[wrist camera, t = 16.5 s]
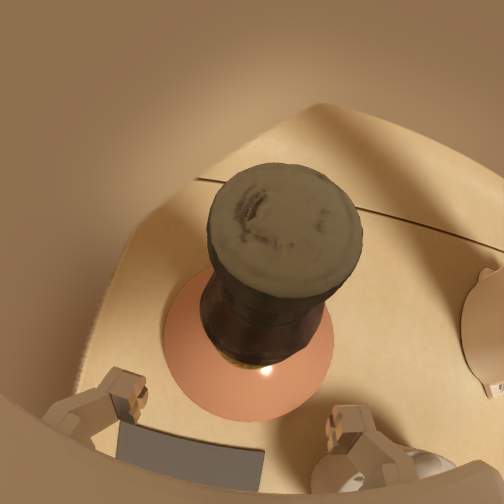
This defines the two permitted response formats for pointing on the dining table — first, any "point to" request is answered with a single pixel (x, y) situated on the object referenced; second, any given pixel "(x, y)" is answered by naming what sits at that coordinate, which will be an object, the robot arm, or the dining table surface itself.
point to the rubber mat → (190, 459)
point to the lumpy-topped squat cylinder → (350, 478)
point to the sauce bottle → (275, 261)
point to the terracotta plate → (235, 379)
